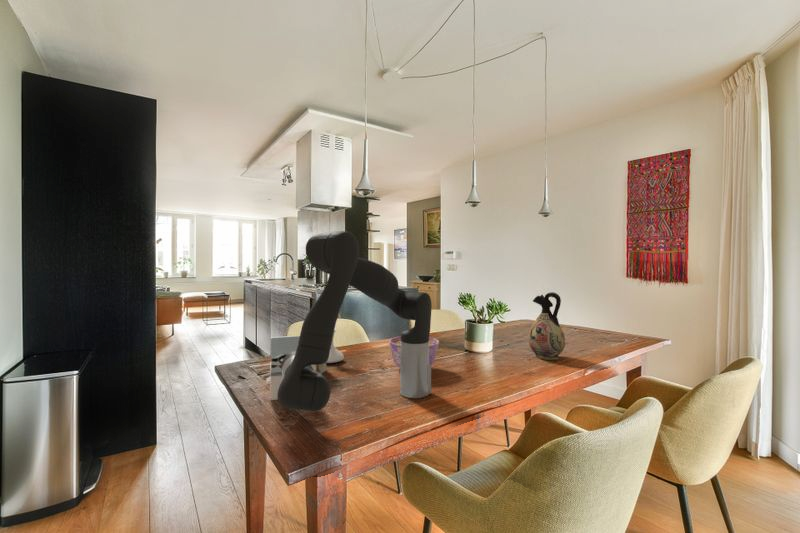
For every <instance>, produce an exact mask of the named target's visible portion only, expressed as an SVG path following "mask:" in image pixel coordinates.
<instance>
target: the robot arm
mask: <svg viewBox="0 0 800 533" xmlns="http://www.w3.org/2000/svg"><path fill="white" fill-rule="evenodd" d="M305 254H306V257H307V261H309V264H311V266H312V267H313V268H315V269H316V270H318V271H320V272H322V273H326V274H328V275H329V276H328V278H327V282H326V284H325V286H324V289H323V290H322V292H321V293H320V295H319V297H318V298H317V299H316V300H315V303H314V304H312V306H311V308H310V309H309V311H308V312H307V314H306V315H305V318H304V320H303V323H302V325H301V331H300V334H299V336H300V338H299V342H298V346H297V350H290V351H289V352H288V355H286V353H283V354H281V355H278V356H276V357H273V358H271V357H270V362H271V368H275V367H277V366H278V367H280V368H281V369H282V377H283V380H282V382H281V384H280V386H279V389H278V394H277V397H278V400H277V402H278V404H279V405H280V407H282V408H284V409H287V410H288V409H290V410H298V411H299V410H301V411H309V412H318V411H320V410H322V409H324V407H326V406H327V404H328V403H329V400H330V397H331V385H330V383H329V380H328V378H327V377H326V376H324V375H323V373H322V374H320V373H319V372H317V371H315V370H314V368H313V365H319V364H324V363H326V362H327V360H328V358H329V353H330V349H331V344H332V339H333V340H334V338H333V334H334V335H335V333H334V329H336V325H337V321H338V318H339V317H338V314H339V313H340V310H341V308H342V305H343V302H344V301H345V300H344V299H345V297H346V295H347V292H348V289H349V287H350V286H351V287H352V288H354V289H356V290H358V291H359V292H361V293H362V294H363V295H365V296H367V297H368V298H371V300H373V301H376V302H378V303H379V304H381V305H383V306H386V307H387V308H389V309H390V310H391V311H392V312H393V313H394V314H395V315H396V316H398V317H399V318H401V319H404V320H409V321H414V325H413V327H412V328H410V329H406V330H403V331H401V333H400V336H401V360H400V367H399V369H400V370H399V372H400V374H399V375H400V376H399V377H400V380H399V388H400V391H399V392H400V395H401V396H402V397H404V398H409V399H422V397H423V398H426V397H427V396H430V395H429V394H431V395H432V366H431V365H430V364H429V337H430V335H431V334H430V332H431V322H432V321H431V320H432V299H431V296H430V294H429V293H427V292H425V291H424V292H423V291H409V290H403V289H400V287H399V281H398V279H397V277H396V276H395V274H393V273H392V271H390V270H388V269H387V268H386V267H385V266H383V265H382V264H379V263H377V262H375V261H372V260H369V259H366V258H362V257H360V244H359V240H358V239H357V237H356V236H355V234H353V233H352V232H350V231H344V230H342V231H341V230H339V231H323V232H318V233H316V234H313V235H312V236H310V237H309V239H308V240H307V242H306V244H305ZM326 364H327V363H326ZM425 396H426V397H425Z"/></svg>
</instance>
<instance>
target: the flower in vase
mask: <svg viewBox="0 0 800 533" xmlns="http://www.w3.org/2000/svg"><path fill="white" fill-rule="evenodd" d="M338 318H339V319H342V316H341V312H339V314H338ZM337 330H338V329H337V328H335V329H334V334H333V339H332V344H331V349H330V353H329V358H328V360H327V362H326V364H333V363H339V362H341V361H343V360H344V358H345V356H344V354H343V353H342V352H341V351H340V350H339V349H337V348H336V347H335V345H334V344H335V343H334V337H335V334H336V331H337Z"/></svg>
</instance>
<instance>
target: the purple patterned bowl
mask: <svg viewBox="0 0 800 533" xmlns="http://www.w3.org/2000/svg"><path fill="white" fill-rule="evenodd" d="M388 340H389V341H388V342H389V346H390V352H391V356H392V360H393V362H394V364H395V365H396V367H398V368H400V360H401V335H399V336H395V337H392V338H390V339H388ZM439 344H440V340H439V339H437V338H434V337H431V336H429V364H430V365H431V367H432V366H433V364H434V362H435V361H436V357H437V353H438V350H439V347H440V346H439Z"/></svg>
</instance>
